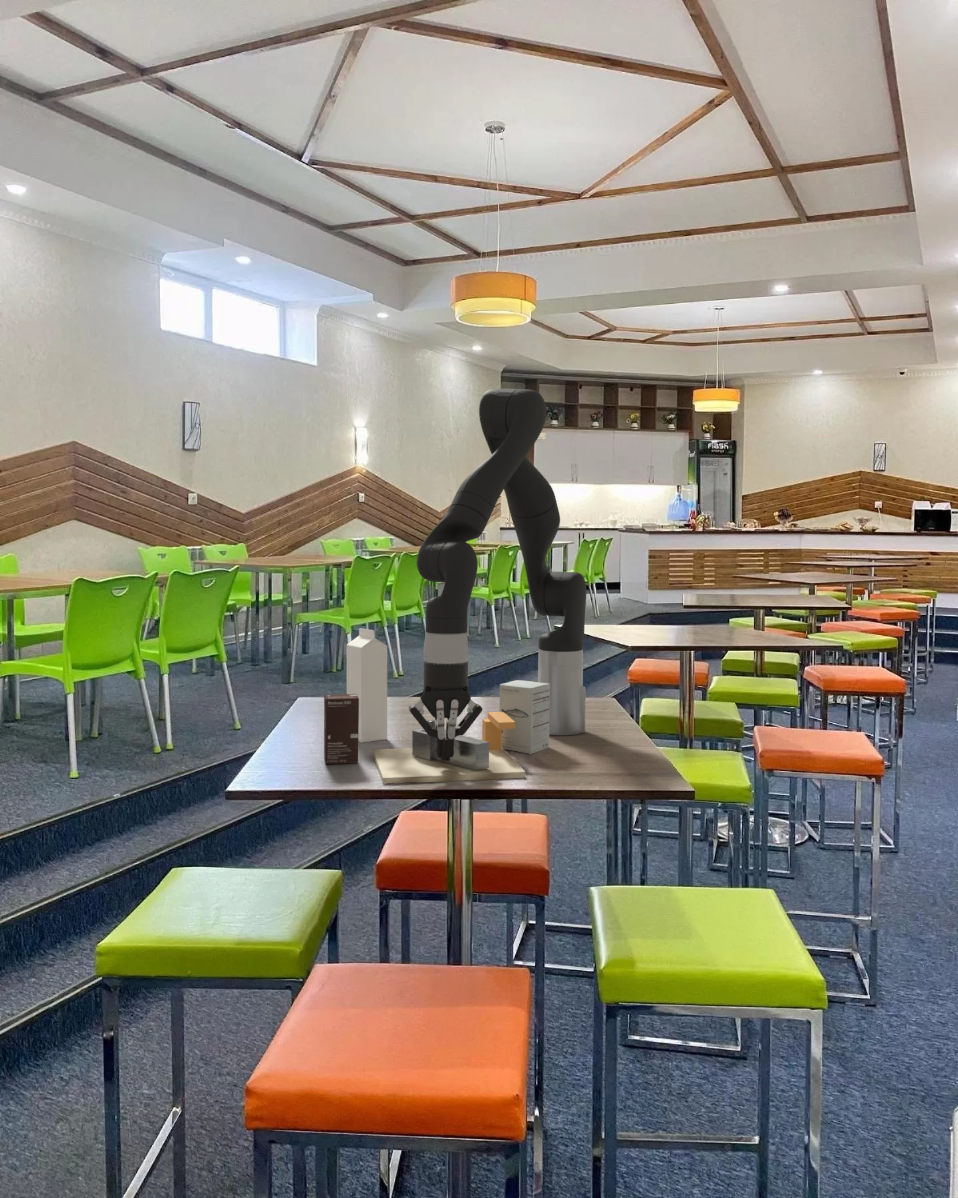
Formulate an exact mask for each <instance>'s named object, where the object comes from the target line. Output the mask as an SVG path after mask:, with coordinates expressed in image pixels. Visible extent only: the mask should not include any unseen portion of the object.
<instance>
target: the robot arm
mask: <svg viewBox="0 0 958 1198" xmlns="http://www.w3.org/2000/svg"><path fill="white" fill-rule="evenodd" d="M478 416H479V422H480V423H479V424H480V427H481V430H482V434H483V437H484V439H485V441H486V444H487V447H488V449H489V451H490V454H491V455H490V456H488V458H487V459H485V460H484V461H483V462H482V463H481V464H480V465H478V466H477V467H476V468H475V469H474V470H472V471H471V472H470V474H468V475H467V476H466V477H465V479H464V480H463V481H462V483H461V484H460V485H459V487H458V489H457V491H456V493H455V495H454V497H453V499H452V501H451V503H450V506H449V508H448V511H447V512H446V514H445V516H443V518H442V519H441V520H440V521H438V523H437V524H436V526H434V528H433V529H432V531H431V532H429V534H428V535H427V537H426V538H425V539H424V541H423V543H422V544H421V545H420V548H419V550H418V553H417V556H416V557H417V558H416V567H417V571H418V573H419V574H420V576H421V577H422V578H423V579H424V580H426V581H429V582H431V583H444V585H443V588H442V591H441V594H440V595H439V596H435V597H431V598H429V599H428V600H427V602H426V605H425V634H424V642H423V655H422V657H423V690H422V691H421V692H422V693H421V694H420V699H419V700H417V702H416V703H414V704H410V705H409V706H408V710H409V712H410V714H411V715H412V717H413V718H414V719H415V720H416V721H417V722H418V724H419V725H420V727H421V729H424V730H425V731H426V733H427V734H428V735H429V736H433V737H436V754H437V756H438V758H440V760H441V761H450V757H453V755H454V739H455V737H457V736H459V735H462V736H465V734H466V733H467V732H468V730H469V729H470V727H471V726H472V725H473V724H474V722H475V721H476V720H477V718H478V717H479V716H480V714H481V713H482V712H483V707H482V706H481V705H480V704H479V703H476V702H475V701H473V700H472V696H471V694H470V691H469V641H468V633H467V632H468V607H469V604H470V600H471V597H472V592H473V590H474V586H475V585H474V584H475V581H476V578H477V573H478V563H479V562H478V557H477V554H476V551H475V549H474V548H473V546H472V545H471V544H470V543H468V542H470V541H472V540H475V539H479V537H480V536H481V535H482V534H483V532H484V531H485V529H486V527H487V525H488V522H489V520H490V517H491V516H492V513H493V511H494V509H495V507H496V504H497V503H498V501H499V498H500V496H501V495H502V493H503V492H504V494H505V496H506V501H507V505H508V510H509V513H510V518H511V521H512V525H513V528H514V530H515V533H516V537H517V539H518V545H519V547H520V552H521V555H522V559H523V563H524V564H523V565H524V568H525V573H526V580H527V586H528V590H529V596H530V602H531V604H532V607H533V609H534V611H535V612H536V613H537V614H539V615H541V616H546V617H564V619H563V623H562V625H561V626H560V627H558V628H556V629H554V630H552V631H548V632H545V633H542V634H541V635H540V636H539V637H538V645H537V646H538V649H537V650H538V651H537V652H538V653H537V654H538V657H537V658H538V660H537V661H538V663H537V665H538V666H537V667H538V669H537V670H538V673H537V677H538V678H537V682H539V683H548V684H550V719H549V735H553V736H571V735H578V734H585V733H586V701H587V700H586V694H587V693H586V687H585V686H584V685H583V684H584V682H583V681H584V680H583V679H584V677H583V675H584V673H583V672H584V670H583V668H584V663H583V662H584V638H585V625H586V624H585V622H586V621H585V620H586V619H585V618H586V607H587V606H586V604H587V584H586V579H585V576H583V574H582V573H580V572H574V571H550V570H549V569H548V568H547V567H548V566H547V562H546V559H547V558H546V557H547V554H548V551H549V549H550V547H551V546H552V544H553V542H554V540H555V537H556V536H557V533H558V531H559V528H560V524H561V515H560V511H559V507H558V503H557V499H556V495H555V491H554V489H553V486H551V484H550V483H549V482H548V480H547V479H546V478H545V476H544V475H543V474H542V473H541V472H540V471H539V469H538V468H537V467H536V466H535V465H534V464H533V463H532V462H531V461H530V460H529V458H527V455H528V454H529V452H530V451H531V449H532V448H533V446H534V445H535V444H536V442H537V440H538V438H539V437H540V435H541V434H542V431H543V429H544V427H545V424H546V419H547V406H546V401H545V399H544V397H543V396H542V395H541V393H540V392H538V391H537V390H534V389H528V388H527V389H523V388H491V389H488V390H487V391H485V392H484V393H483V395H482V397H481V399H480V402H479V407H478ZM424 707H425V708H426V710H427V711H428V712H429V714H430V715H431V716H432V717H433V718H434V720H435V726H436V729H435V728H432V727H431V726H430V724H429V723H428V722H427V721H428V720H427V719H426V718H425V717H424V716H423V715H424V713H425V709H424ZM465 708H466V712H467V713H466V714H465V716H464V717H462V720H460V722H459V723H458V724H457V721H458V717H460V716H461V715H462V713H463V711H465ZM445 719H446V723H445ZM445 725H446V726H445ZM445 730H446V737H445Z"/></svg>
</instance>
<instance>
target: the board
mask: <svg viewBox="0 0 958 1198" xmlns="http://www.w3.org/2000/svg"><path fill="white" fill-rule="evenodd" d="M372 756H373V759H374V762H375V765H376V768H377V770H378V773H379V774H378V775H379V777H380V780H381V782H382V785H388V784H387V783H394V784H405V783H404V782H417V783H432V782H433V783H434V782H435V783H436V782H437V783H439V782H451V781H452V782H453V781H454V782H459V781H475V780H476V781H479V780H483V781H484V780H500V779H502V780H503V779H520V778H521V779H524V778H526V770H524V769H523V768H522V767H521V765H520V764H518V762H517V761H516V760H515V759H514V758H513V757H512V756H511V755H510V754H509V753H508V752H507V751H506V749H503V748H502V747H501V750H489V768H487V769H483V770H478V771H474V770H471V769H467V768H463V767H460V766H456V765H453V764H449V763H446V762H442V761H438V760H435V759H434V760H427V759H422V758H420V757H417V756H413V755H412V747H410V748H409V747H407V748H406V747H405V748H379V749H377V748H376V749H372Z"/></svg>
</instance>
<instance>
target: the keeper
mask: <svg viewBox="0 0 958 1198" xmlns="http://www.w3.org/2000/svg"><path fill="white" fill-rule="evenodd" d="M481 723H482V725H481V727H482V729H481V730H482V738H481V740H483V741H487V742H489V750H501V729H515V721H513V720H512V719H511V718H510V717H509V716H508V715H506V714H505V713H504V712H499V711H489V712H487V718H482V721H481Z"/></svg>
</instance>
